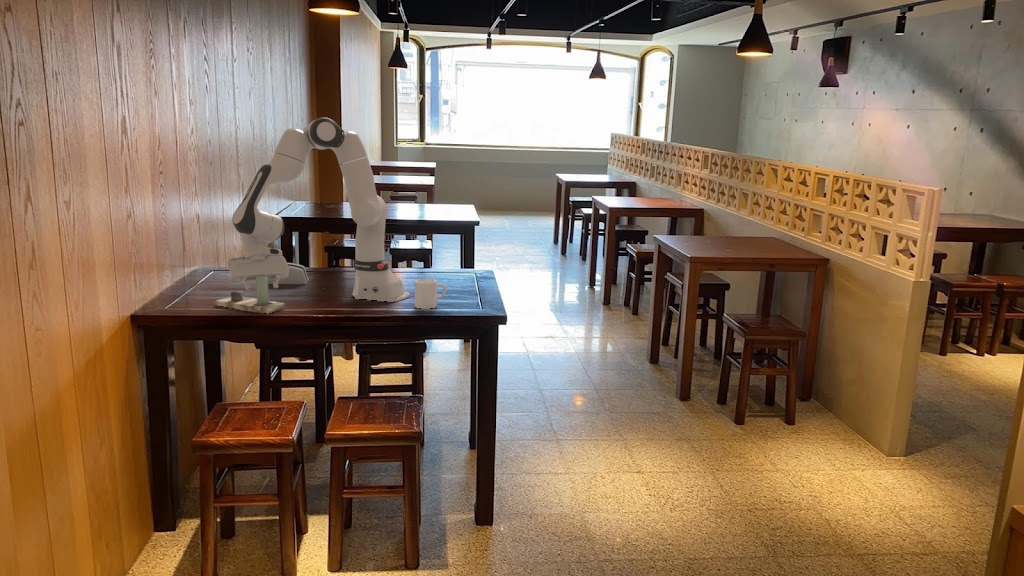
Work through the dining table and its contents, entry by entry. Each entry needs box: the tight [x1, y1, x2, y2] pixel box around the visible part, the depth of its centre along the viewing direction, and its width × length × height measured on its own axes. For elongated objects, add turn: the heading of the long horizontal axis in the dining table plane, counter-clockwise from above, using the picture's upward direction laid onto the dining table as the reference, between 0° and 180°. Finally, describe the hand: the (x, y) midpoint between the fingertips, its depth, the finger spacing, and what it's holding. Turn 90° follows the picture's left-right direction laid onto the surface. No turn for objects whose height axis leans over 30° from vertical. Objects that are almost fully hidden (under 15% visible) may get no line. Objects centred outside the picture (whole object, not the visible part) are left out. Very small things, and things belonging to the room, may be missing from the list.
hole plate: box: [214, 290, 286, 315], centre depth 267 cm, size 24×9×5 cm, turn 67°
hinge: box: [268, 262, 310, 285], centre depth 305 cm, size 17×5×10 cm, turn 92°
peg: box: [255, 276, 270, 306], centre depth 264 cm, size 4×4×12 cm
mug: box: [414, 278, 448, 310], centre depth 273 cm, size 8×12×10 cm, turn 86°
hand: (262, 288), depth 263 cm, fingers open, 8 cm apart
